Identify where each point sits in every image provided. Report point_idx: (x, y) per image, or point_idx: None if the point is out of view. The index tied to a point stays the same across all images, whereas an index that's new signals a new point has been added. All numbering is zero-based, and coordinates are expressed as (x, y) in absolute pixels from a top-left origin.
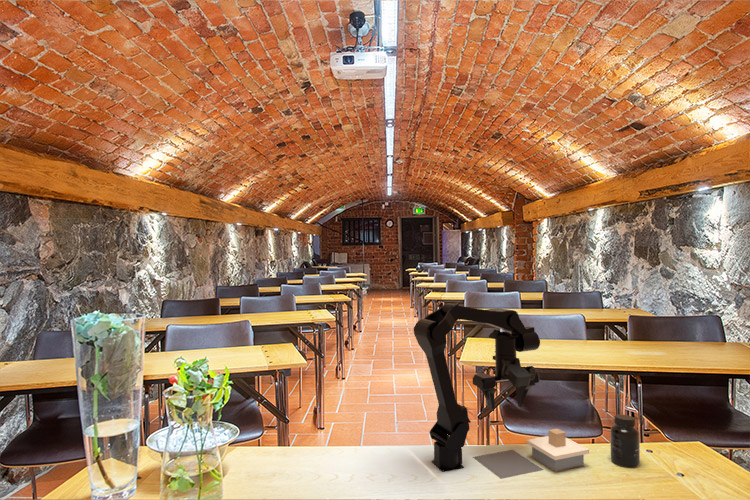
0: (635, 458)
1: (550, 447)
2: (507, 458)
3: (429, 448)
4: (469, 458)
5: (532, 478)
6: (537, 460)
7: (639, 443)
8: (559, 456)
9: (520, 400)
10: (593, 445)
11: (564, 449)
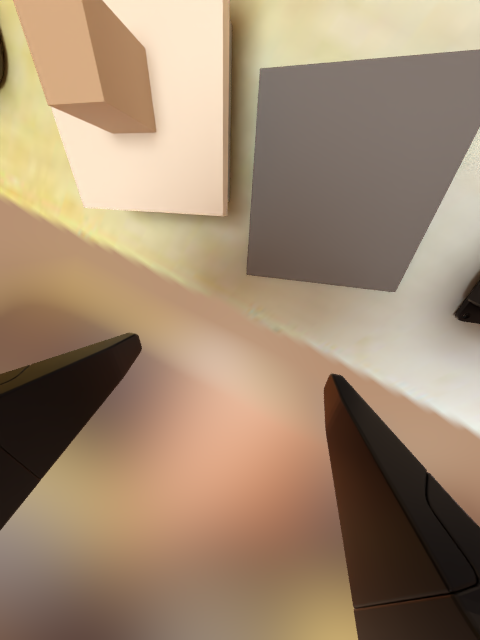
0: None
1: (173, 63)
2: (305, 230)
3: (428, 389)
4: (396, 296)
5: (355, 15)
6: (228, 169)
7: None
8: None
9: (103, 361)
10: (36, 202)
11: None
